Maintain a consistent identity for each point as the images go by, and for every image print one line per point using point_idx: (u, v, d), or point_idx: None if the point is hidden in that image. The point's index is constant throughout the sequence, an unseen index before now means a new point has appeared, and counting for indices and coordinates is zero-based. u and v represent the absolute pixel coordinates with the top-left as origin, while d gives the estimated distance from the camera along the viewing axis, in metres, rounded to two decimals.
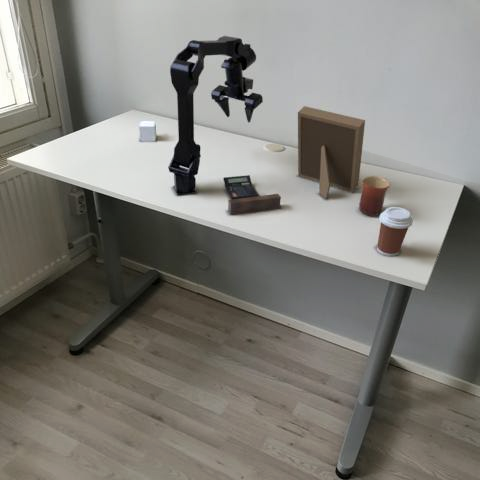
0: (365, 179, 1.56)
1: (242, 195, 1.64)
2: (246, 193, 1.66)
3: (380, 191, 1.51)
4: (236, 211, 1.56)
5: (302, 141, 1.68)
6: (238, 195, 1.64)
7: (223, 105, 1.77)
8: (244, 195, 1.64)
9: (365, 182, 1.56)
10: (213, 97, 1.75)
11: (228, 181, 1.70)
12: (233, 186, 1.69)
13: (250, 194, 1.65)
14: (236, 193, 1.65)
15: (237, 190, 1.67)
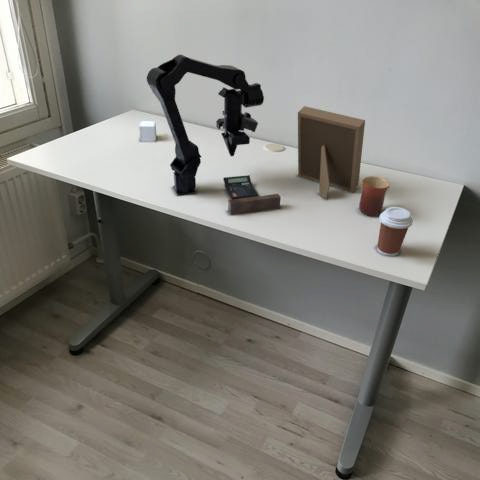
0: (365, 179, 1.56)
1: (242, 195, 1.64)
2: (246, 193, 1.66)
3: (380, 191, 1.51)
4: (236, 211, 1.56)
5: (302, 141, 1.68)
6: (238, 195, 1.64)
7: None
8: (244, 195, 1.64)
9: (365, 182, 1.56)
10: (217, 125, 1.70)
11: (228, 181, 1.70)
12: (233, 186, 1.69)
13: (250, 194, 1.65)
14: (236, 193, 1.65)
15: (237, 190, 1.67)
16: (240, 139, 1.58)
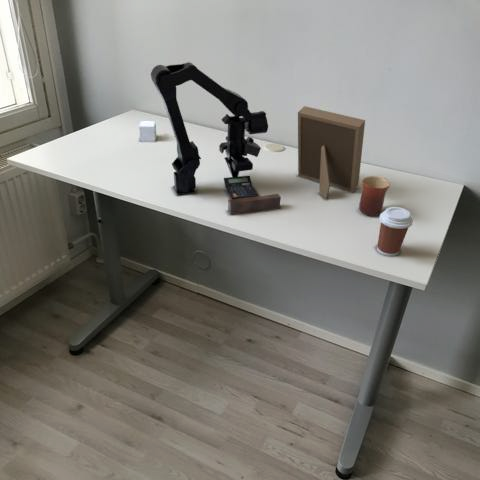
0: (365, 179, 1.56)
1: (242, 195, 1.64)
2: (247, 193, 1.66)
3: (380, 191, 1.51)
4: (236, 211, 1.56)
5: (302, 141, 1.68)
6: (238, 195, 1.64)
7: None
8: (244, 195, 1.64)
9: (365, 182, 1.56)
10: (220, 149, 1.72)
11: (229, 181, 1.69)
12: (233, 186, 1.69)
13: (250, 194, 1.65)
14: (236, 193, 1.65)
15: (237, 190, 1.67)
16: (243, 165, 1.60)
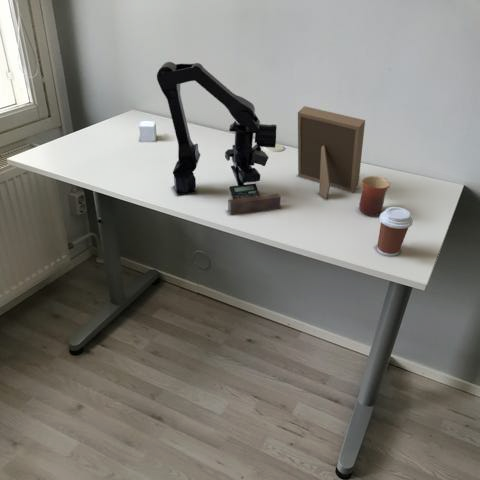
0: (365, 179, 1.56)
1: None
2: None
3: (380, 191, 1.51)
4: (236, 211, 1.56)
5: (302, 141, 1.68)
6: None
7: None
8: None
9: (365, 182, 1.56)
10: (225, 156, 1.66)
11: (235, 190, 1.64)
12: (240, 195, 1.64)
13: None
14: None
15: None
16: (251, 177, 1.55)
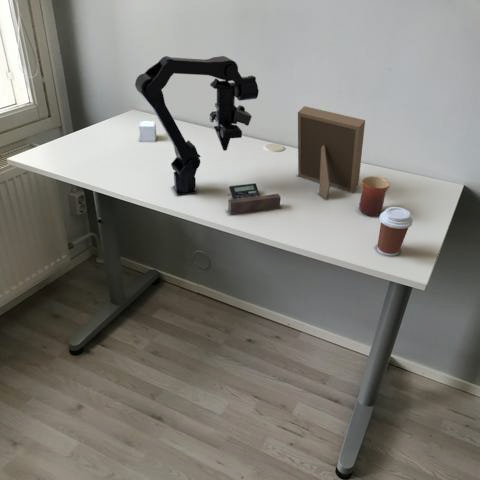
0: (365, 179, 1.56)
1: None
2: None
3: (380, 191, 1.51)
4: (236, 211, 1.56)
5: (302, 141, 1.68)
6: None
7: None
8: None
9: (365, 182, 1.56)
10: (210, 118, 1.65)
11: (235, 190, 1.64)
12: (240, 195, 1.64)
13: None
14: None
15: None
16: (232, 132, 1.53)
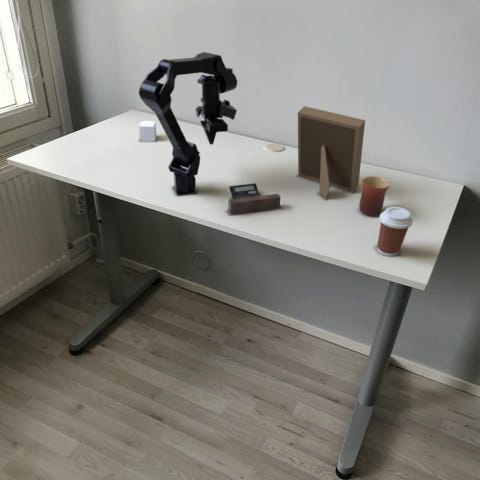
0: (365, 179, 1.56)
1: None
2: None
3: (380, 191, 1.51)
4: (236, 211, 1.56)
5: (302, 141, 1.68)
6: None
7: None
8: None
9: (365, 182, 1.56)
10: (196, 113, 1.69)
11: (235, 190, 1.64)
12: (240, 195, 1.64)
13: None
14: None
15: None
16: (218, 126, 1.56)
